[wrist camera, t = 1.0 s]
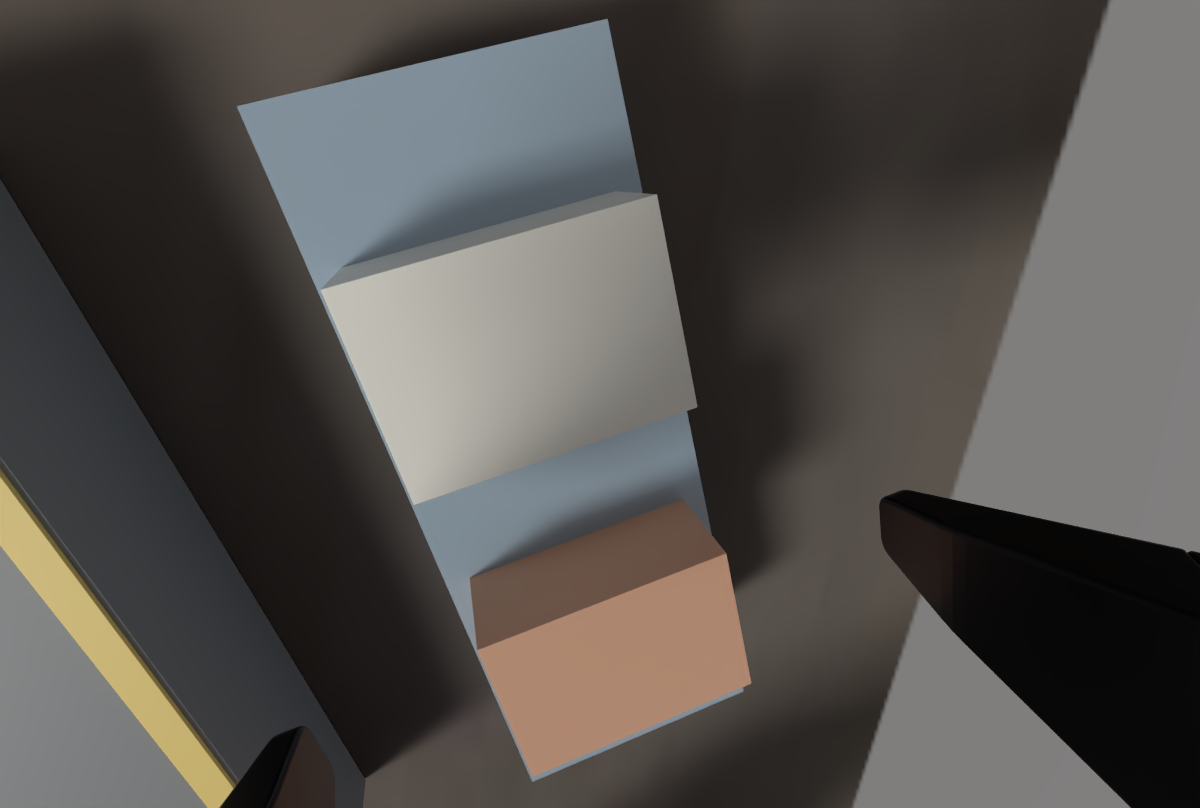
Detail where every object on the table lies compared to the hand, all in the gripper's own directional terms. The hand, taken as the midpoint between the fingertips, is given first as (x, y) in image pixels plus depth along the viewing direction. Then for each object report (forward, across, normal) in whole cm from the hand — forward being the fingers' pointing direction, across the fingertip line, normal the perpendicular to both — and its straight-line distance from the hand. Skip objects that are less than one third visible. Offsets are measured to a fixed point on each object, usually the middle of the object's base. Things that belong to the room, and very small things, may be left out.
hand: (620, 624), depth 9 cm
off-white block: (+4, 0, -4) cm, 6 cm away
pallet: (+8, 0, 0) cm, 8 cm away
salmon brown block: (+4, 0, +3) cm, 5 cm away
